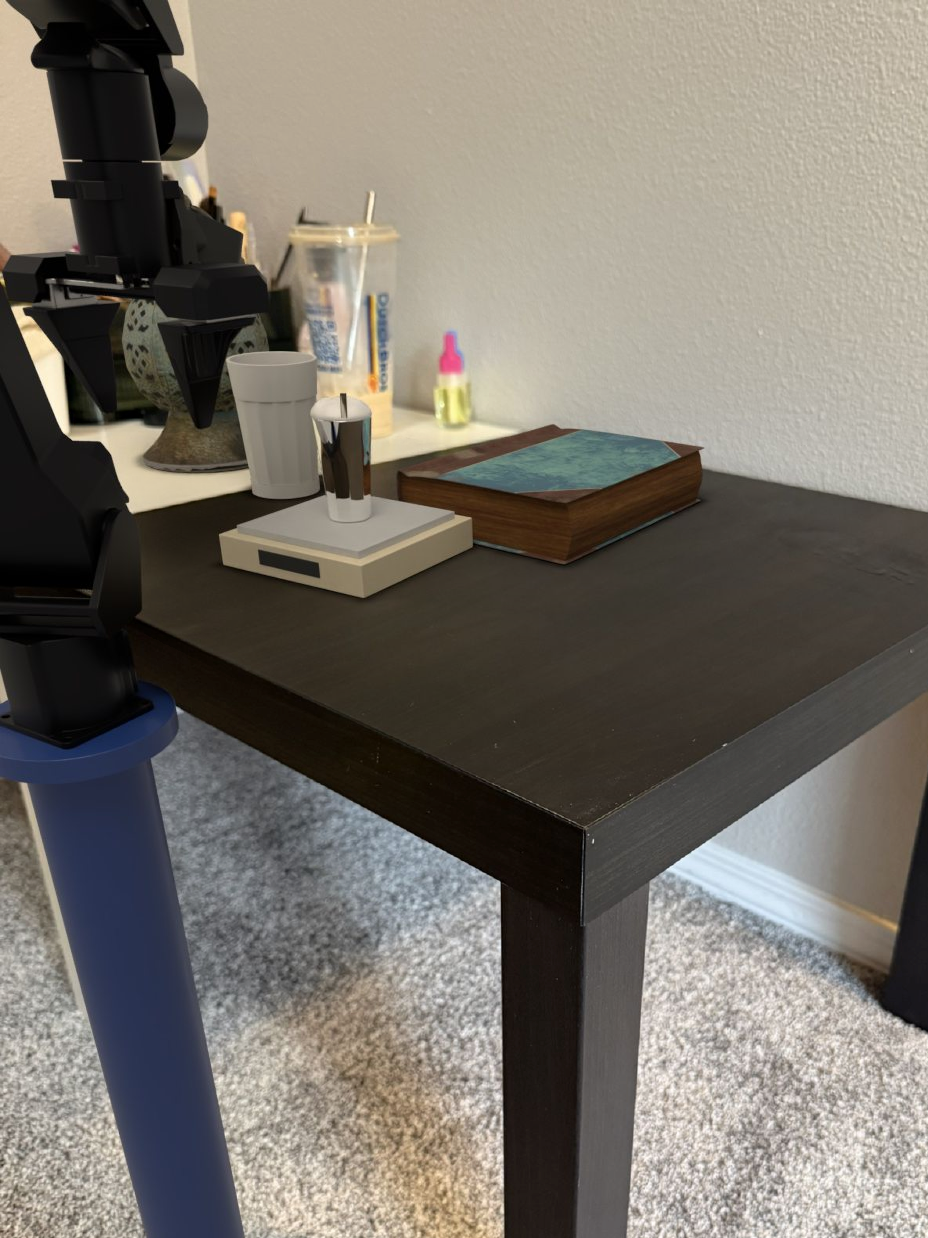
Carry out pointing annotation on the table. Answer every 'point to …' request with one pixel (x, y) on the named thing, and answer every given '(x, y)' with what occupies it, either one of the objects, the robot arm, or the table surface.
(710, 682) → the table surface
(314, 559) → the scale
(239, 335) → the lantern
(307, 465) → the cup
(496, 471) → the book
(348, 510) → the milkshake
